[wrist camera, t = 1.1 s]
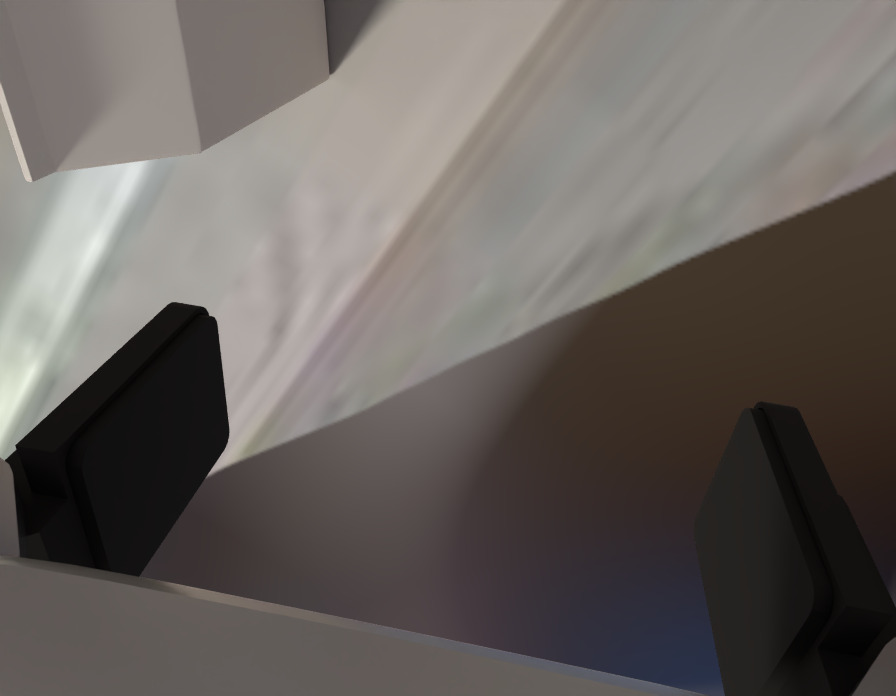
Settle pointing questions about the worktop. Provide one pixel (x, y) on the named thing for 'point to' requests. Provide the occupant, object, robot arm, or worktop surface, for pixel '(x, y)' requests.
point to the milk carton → (148, 74)
